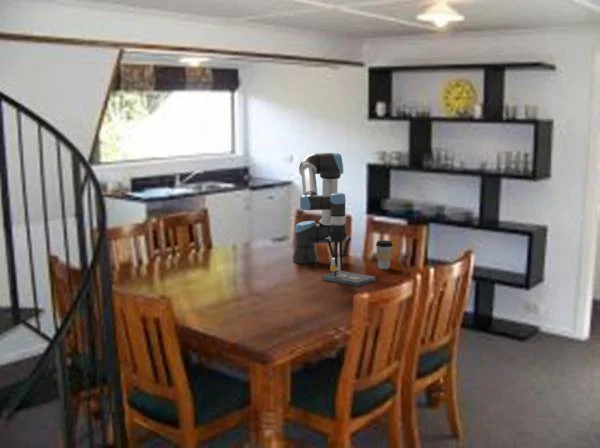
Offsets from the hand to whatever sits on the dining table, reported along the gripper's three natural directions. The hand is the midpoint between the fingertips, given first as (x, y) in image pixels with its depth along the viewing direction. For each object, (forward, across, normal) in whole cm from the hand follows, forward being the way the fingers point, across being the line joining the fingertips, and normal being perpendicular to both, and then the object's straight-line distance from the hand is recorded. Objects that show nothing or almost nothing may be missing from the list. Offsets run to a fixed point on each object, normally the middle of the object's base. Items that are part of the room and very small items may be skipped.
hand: (338, 270), depth 335 cm
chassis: (+7, +6, +6) cm, 11 cm away
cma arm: (-1, -2, +4) cm, 5 cm away
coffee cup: (+8, +31, +31) cm, 44 cm away
